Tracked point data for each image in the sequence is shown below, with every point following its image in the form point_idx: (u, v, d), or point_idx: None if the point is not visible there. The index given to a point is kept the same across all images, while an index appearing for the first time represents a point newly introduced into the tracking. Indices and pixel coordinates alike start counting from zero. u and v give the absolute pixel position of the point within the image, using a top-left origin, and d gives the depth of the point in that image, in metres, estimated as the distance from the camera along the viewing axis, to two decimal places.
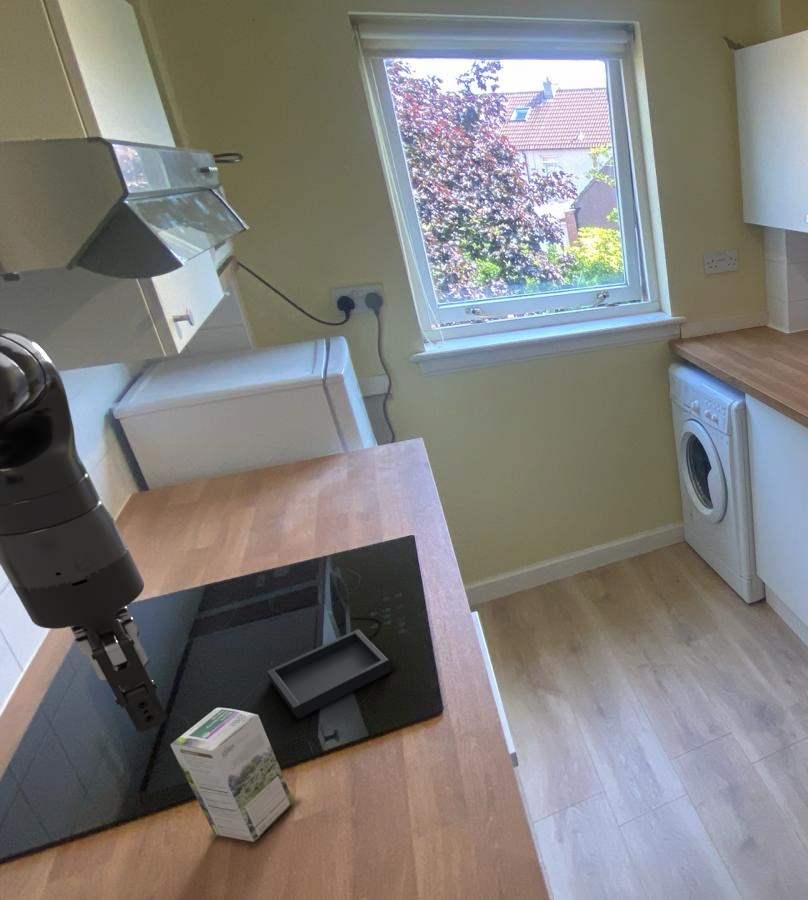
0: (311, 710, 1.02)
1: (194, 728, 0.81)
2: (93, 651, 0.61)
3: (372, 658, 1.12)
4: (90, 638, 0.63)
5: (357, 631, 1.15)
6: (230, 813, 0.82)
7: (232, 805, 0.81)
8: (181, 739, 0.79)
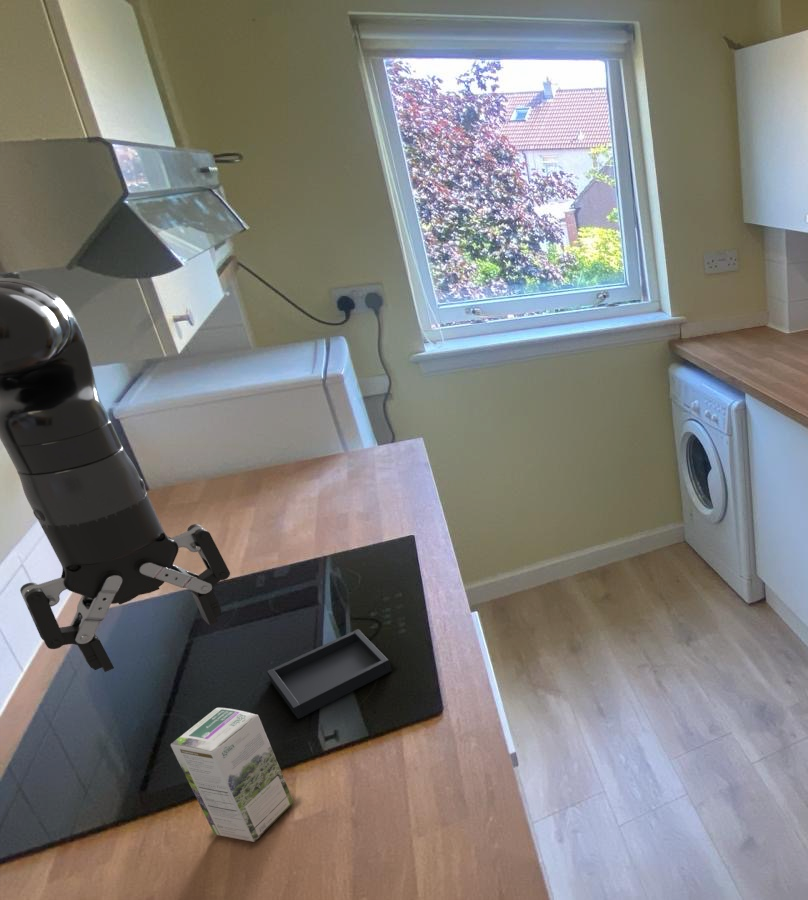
0: (311, 710, 1.02)
1: (194, 728, 0.81)
2: (25, 584, 0.65)
3: (372, 658, 1.12)
4: (65, 572, 0.67)
5: (357, 631, 1.15)
6: (230, 813, 0.82)
7: (232, 805, 0.81)
8: (181, 739, 0.79)
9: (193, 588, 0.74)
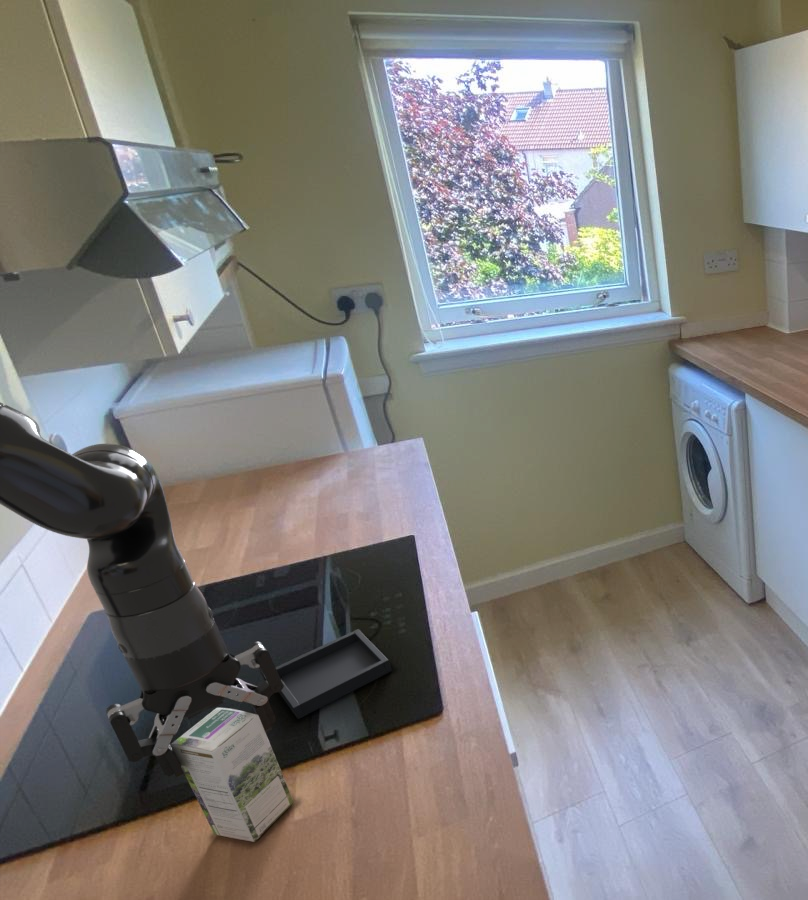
0: (311, 710, 1.02)
1: (194, 728, 0.81)
2: (110, 706, 0.74)
3: (372, 658, 1.12)
4: (143, 692, 0.76)
5: (357, 631, 1.15)
6: (230, 813, 0.82)
7: (232, 805, 0.81)
8: (181, 739, 0.79)
9: (251, 701, 0.82)
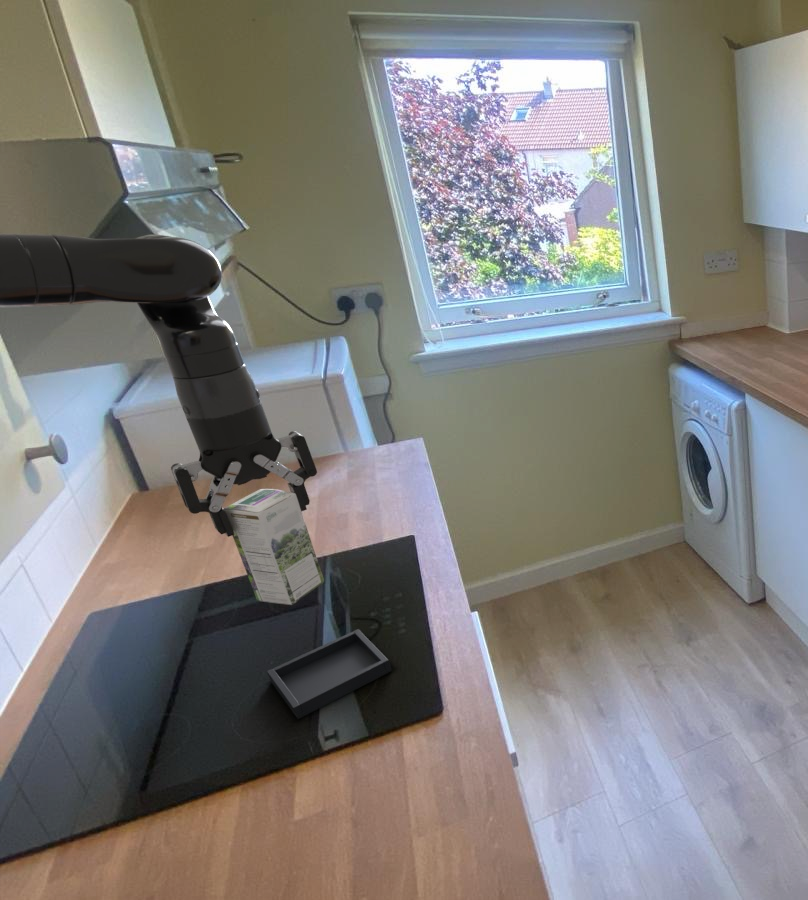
0: (311, 710, 1.02)
1: (242, 500, 0.94)
2: (174, 464, 0.88)
3: (372, 658, 1.12)
4: None
5: (357, 631, 1.15)
6: (272, 575, 0.96)
7: (274, 568, 0.95)
8: (231, 506, 0.93)
9: (290, 480, 0.96)
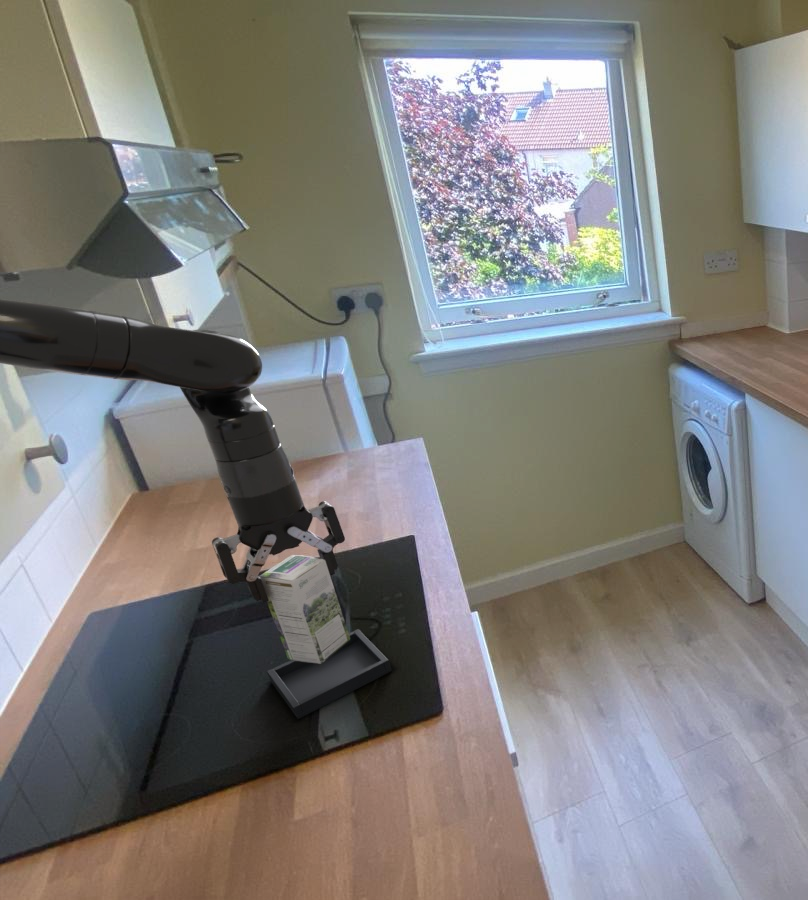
0: (311, 710, 1.02)
1: (276, 567, 1.01)
2: (214, 538, 0.94)
3: (372, 658, 1.12)
4: None
5: (357, 631, 1.15)
6: (302, 637, 1.02)
7: (305, 630, 1.01)
8: (266, 573, 0.99)
9: (320, 548, 1.02)
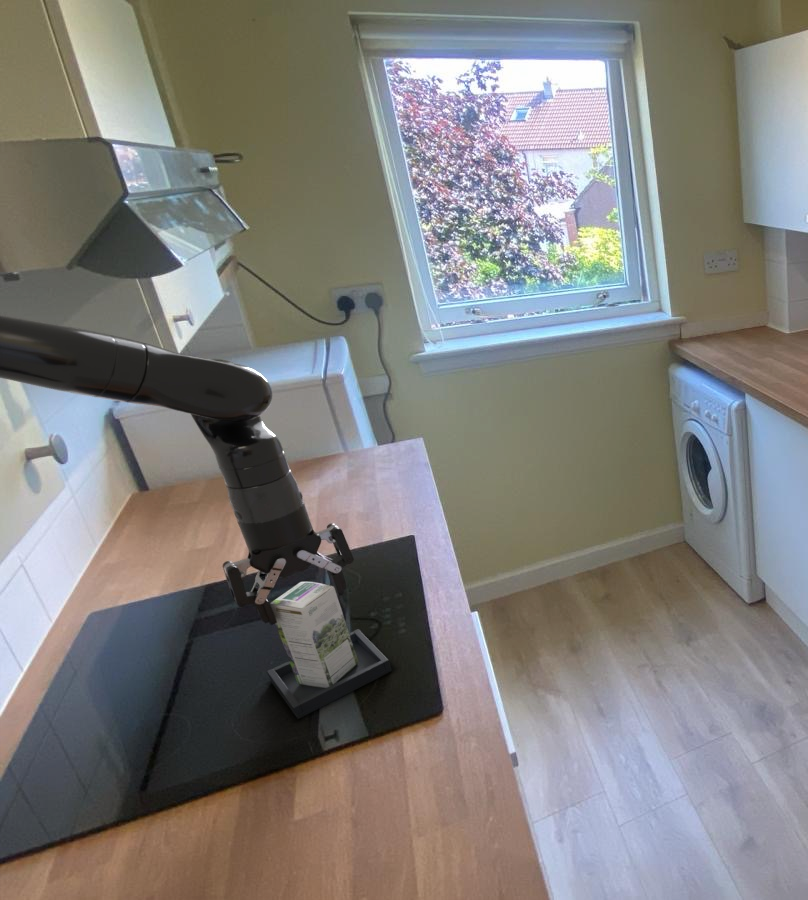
0: (311, 710, 1.02)
1: (286, 594, 1.02)
2: (225, 562, 0.96)
3: (372, 658, 1.12)
4: None
5: (357, 631, 1.15)
6: (312, 663, 1.04)
7: (314, 656, 1.03)
8: (276, 601, 1.01)
9: (329, 569, 1.04)
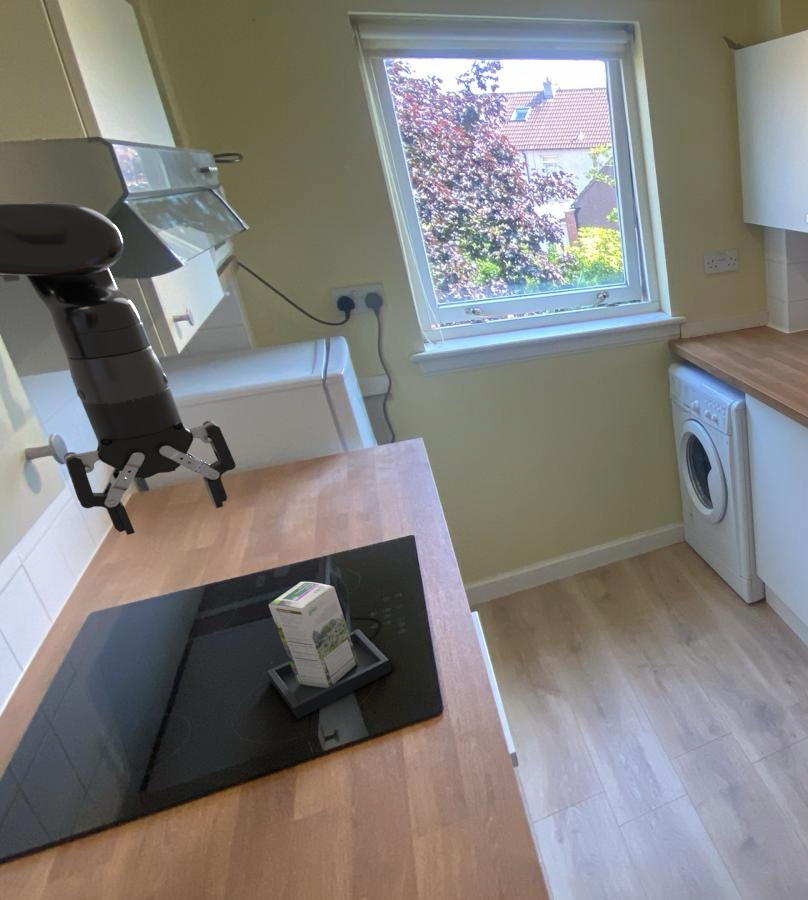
0: (311, 710, 1.02)
1: (286, 594, 1.02)
2: (67, 453, 0.80)
3: (372, 658, 1.12)
4: (100, 447, 0.82)
5: (357, 631, 1.15)
6: (312, 663, 1.04)
7: (314, 656, 1.03)
8: (276, 601, 1.01)
9: (203, 473, 0.88)
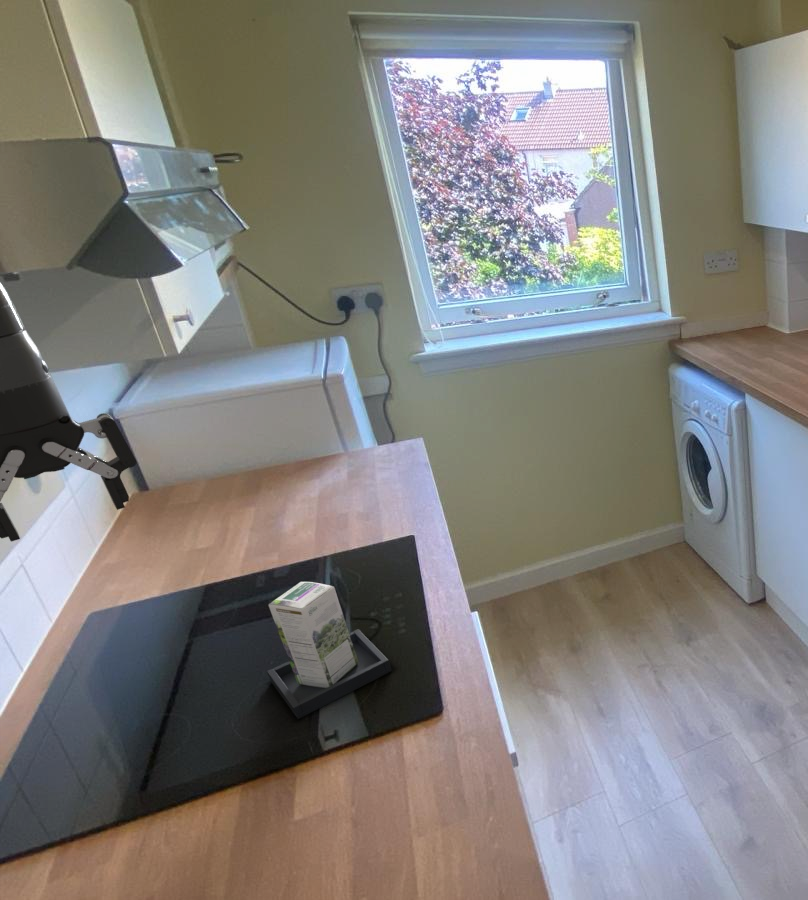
0: (311, 710, 1.02)
1: (286, 594, 1.02)
2: None
3: (372, 658, 1.12)
4: None
5: (357, 631, 1.15)
6: (312, 663, 1.04)
7: (314, 656, 1.03)
8: (276, 601, 1.01)
9: (99, 472, 0.79)
